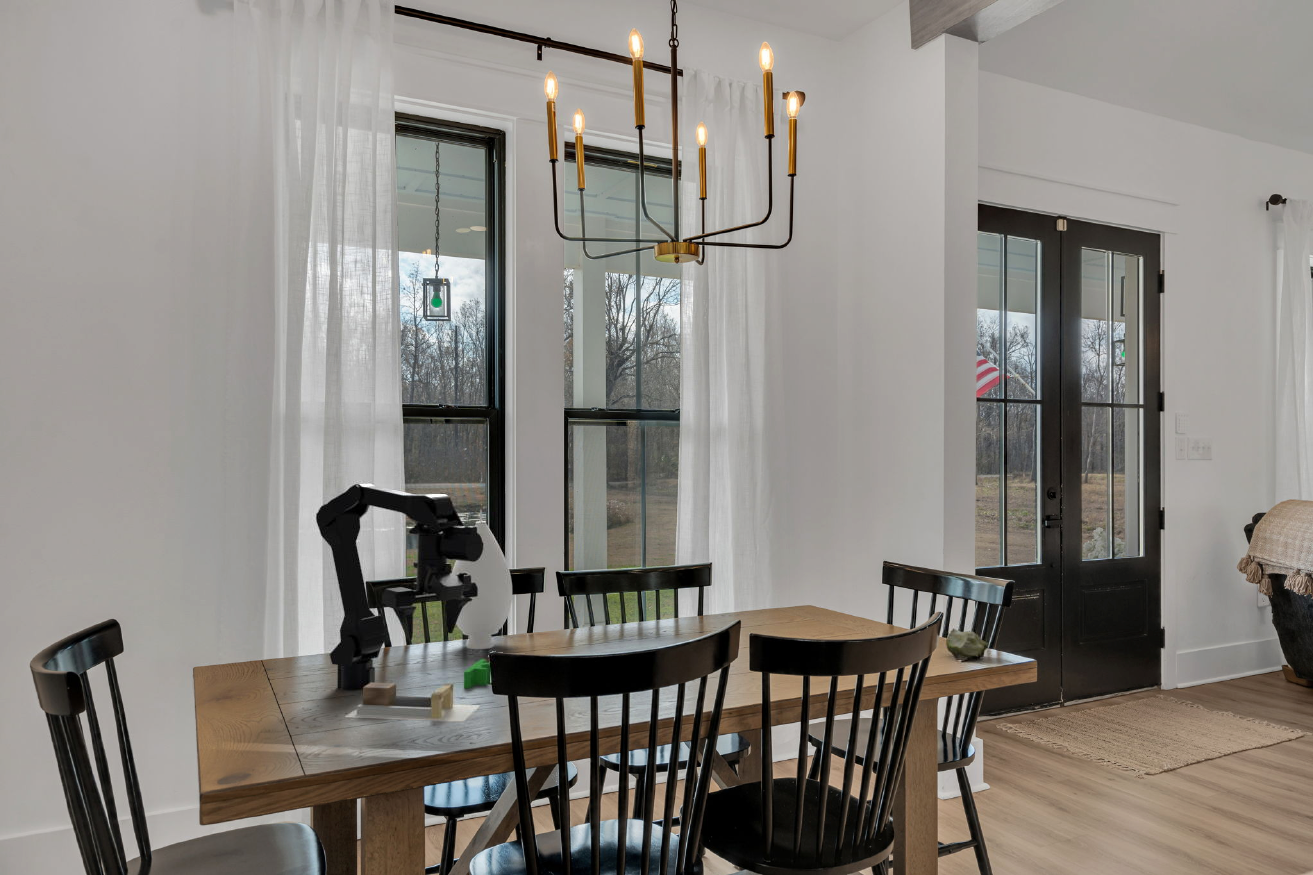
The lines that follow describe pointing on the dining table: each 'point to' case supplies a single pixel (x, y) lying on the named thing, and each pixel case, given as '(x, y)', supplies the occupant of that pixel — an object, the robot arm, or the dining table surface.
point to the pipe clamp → (477, 674)
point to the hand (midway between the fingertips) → (430, 636)
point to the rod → (412, 701)
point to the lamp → (485, 592)
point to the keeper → (379, 694)
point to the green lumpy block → (965, 644)
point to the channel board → (420, 709)
